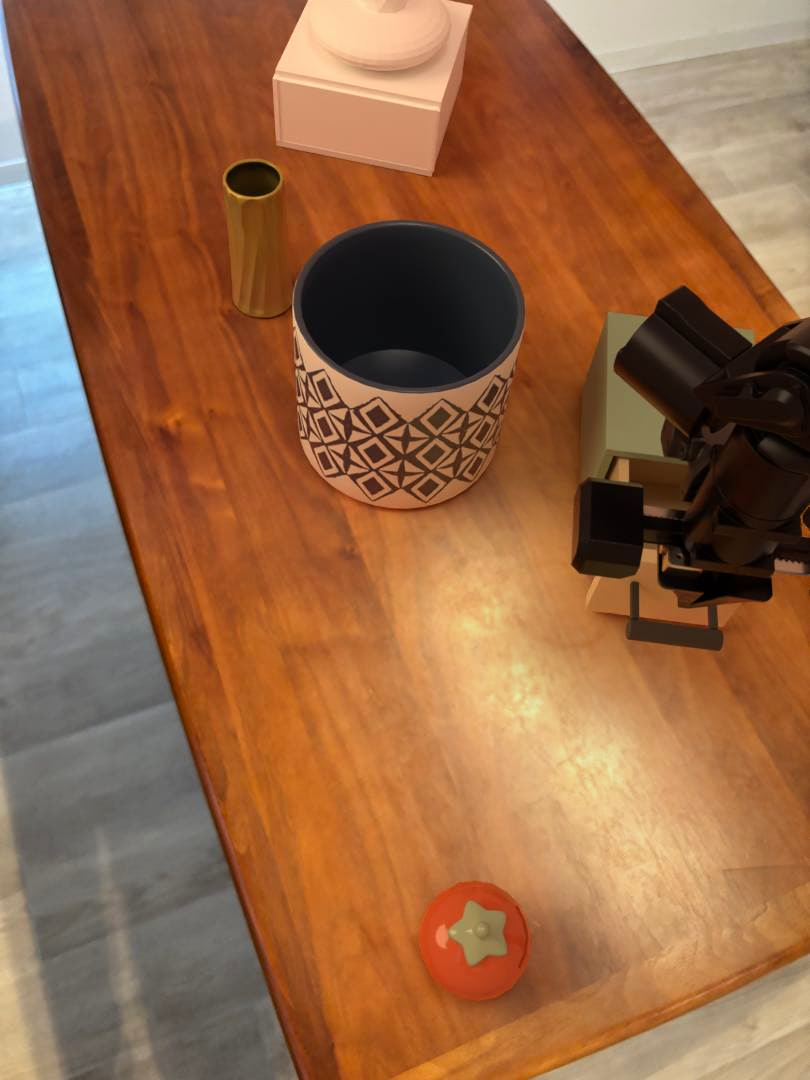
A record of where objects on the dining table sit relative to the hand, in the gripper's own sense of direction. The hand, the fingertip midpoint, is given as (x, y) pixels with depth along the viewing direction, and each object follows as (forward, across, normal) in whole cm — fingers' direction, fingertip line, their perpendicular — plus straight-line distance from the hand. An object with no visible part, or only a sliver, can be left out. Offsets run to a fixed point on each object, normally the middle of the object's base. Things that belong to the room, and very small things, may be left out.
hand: (682, 601), depth 71 cm
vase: (+12, +37, -34) cm, 52 cm away
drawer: (+11, -1, -8) cm, 14 cm away
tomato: (+12, +12, +23) cm, 28 cm away
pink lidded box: (+12, +31, -64) cm, 72 cm away
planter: (+12, +22, -20) cm, 32 cm away
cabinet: (+12, -1, -21) cm, 24 cm away
